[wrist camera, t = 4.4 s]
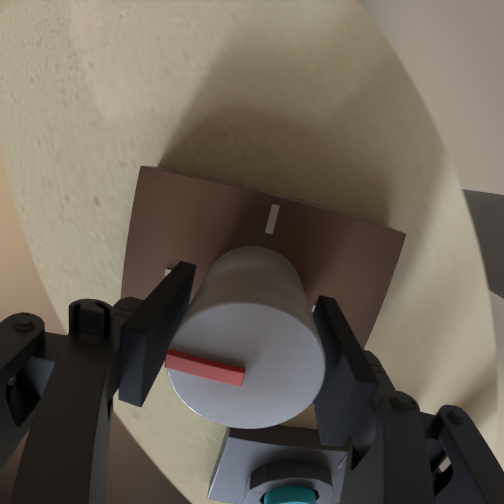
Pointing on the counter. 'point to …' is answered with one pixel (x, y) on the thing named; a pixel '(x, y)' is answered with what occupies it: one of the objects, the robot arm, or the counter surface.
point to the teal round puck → (290, 495)
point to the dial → (248, 343)
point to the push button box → (276, 464)
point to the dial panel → (257, 240)
